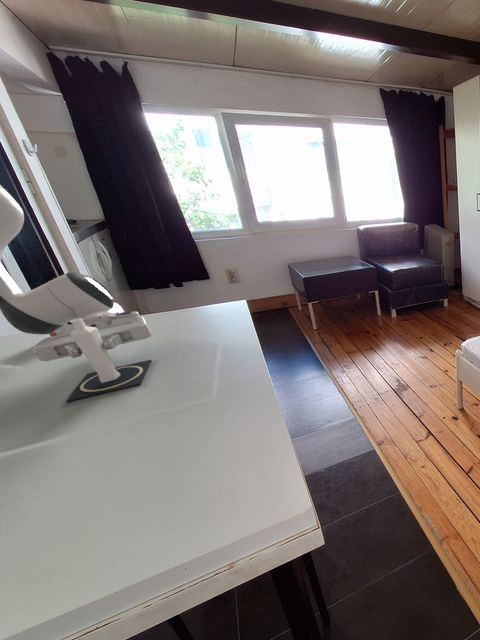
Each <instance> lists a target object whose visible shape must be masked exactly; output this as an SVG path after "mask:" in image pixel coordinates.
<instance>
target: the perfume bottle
mask: <svg viewBox="0 0 480 640" xmlns="http://www.w3.org/2000/svg"><path fill="white" fill-rule="evenodd" d="M70 322H71V323H72V325H73V326H74V328H75V330H73V331H72V332H71V333H69V334H70V335H71V337H72V338H73V339H74V341H75V342H76V344H77V345H78V346H79V348H80V349H81V351H82V352H83V353H82V355H84V356H85V358H86V359H87V361H88V362H89V364H90V365H91V366H92V368H93V369H94V370H95V372H97V373H98V375H99V380H100V381H101V382H102V383H104V382H108V381H112V380H115V379H117V378H118V377H119V376H120V375H121V374H120V373H119V372H117V371H116V370H115V365H114V364H113V360H112V358H111V357H110V354H109V352H108V350H106V347H105V346H104V345H103V341H102V338H101V336H100V334H99V332H98V329H97V328H95V327H86V325H85V323H84V321H83V318H80V317H79V319H74V320H71V321H70Z"/></svg>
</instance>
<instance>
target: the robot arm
mask: <svg viewBox="0 0 480 640" xmlns="http://www.w3.org/2000/svg"><path fill="white" fill-rule="evenodd" d="M24 223H25V213H24V210H23V209H22V207H21V206H20V204H19V203H18V202H17V201H16V200H15V198H14V196H12V195H11V193H9V192H8V191H7V189H5V188H4V186H2V185H1V184H0V311H1V313H2V315H3V316H4V318H5V319H6V321H7V322H8V323H9V324H10V325H11V326H12V327H13V328H15V329H16V330H18V331H20V332H22V333H24V334H29V335H30V334H31V335H50V334H51V333H52V332H54V331H55V330H57V329H58V328H60V327H62V326H63V325H64V324H66V323H68V322H69V321H71V320H73V319H75V318H77V317H79V318H83V321H84V323H85V325H86V327H95V328H97V329H98V332H99V334H100V336H101V338H102V341H103V345H104V346H105V347H106V350H107V351H109V350H113V349H116V347H117V346H120V345H123V344H128V343H129V344H130V343H133V342H137V341H141V340H147V339H149V338H151V337H152V336H153V334H152V332H151V329H150V328H149V326H148V323H147V321H146V320H145V317H143V316H141V314H140V313H139V311H135V310H134V311H126V310H124V308H123V306H121V305H120V304H118V303H117V302H115V299H114V296H113V294H112V293H111V292H110V291H109V290H108V289H107V288H106V287H105V285H103V284H102V283H101V282H99V281H98V280H97V279H96V278H94V277H91V276H90V275H85V274H82V273H78V272H66V273H64V274H62V275H60V276H57V277H54V278H53V279H51V280H49V281H47V282H45V283H44V284H41V285H39V286H38V287H35V288H33V289H31V290H29V291H26V292H23V291H22V289H21V288H20V287H19V285H18V284H17V283H16V282H15V280H14V278H12V276H11V275H10V274H9V272H8V271H7V269H5V266H4V265H3V263H2V255H3V252H4V251H5V249H6V248H7V247H8V245H9V244H10V243H11V242H12V240H14V238H16V237H17V236H18V234H19V233H20V232H21V230H22V228H23V226H24ZM74 330H75V329H74ZM32 351H33V353H34V355H35V356H36V357H37V359H38V360H39V361H41V362H49V361H54V360H59V359H62V358H63V359H64V358H67V357H70V358H71V359H75V358H78V357H82V355H83V352H82V351H81V349H80V348H79V346H78V345H77V344H76V342H75V341H74V339H73V338H72V337H71V335H70V334H69V333H66V334H61V335H56V336H52V337H51V336H48V337H46V338H44V339H42V340H40V341H39V342H37V343H36V344H35V345H34V346H33V347H32Z"/></svg>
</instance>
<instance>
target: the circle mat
mask: <svg viewBox="0 0 480 640" xmlns="http://www.w3.org/2000/svg"><path fill="white" fill-rule="evenodd" d="M152 362H153V360H152V359H147V360H143V361H139V362H134V363H129V364H125V365H120V366H114V368H115V370H116V371H117V372H119V373H120V374H121V375H120V376H119V377H118V378H117V379H115V380H112V381H108V382H104V383H102V382H101V381H100V380H99V375H98V373H97V372H96V371H93V372H88V373H86V375H85V376H84V377H83V379H82V380H81V381H80V382H79V384H78V385H77V386H76V387H75V389H74V390H73V392H72V393H71V394H70V395H69V397H68V398H67V399H66V403H71V402H75V401H76V402H77V401H79V400H83V399H88V398H92V397H96V396H101V395H104V394H108V393H112V392H117V391H121V390H126V389H130V388H133V387H139V386H141V385H142V383H143V381H144V379H145V377H146V375H147V373H148V370H149V369H150V366H151V364H152Z"/></svg>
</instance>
